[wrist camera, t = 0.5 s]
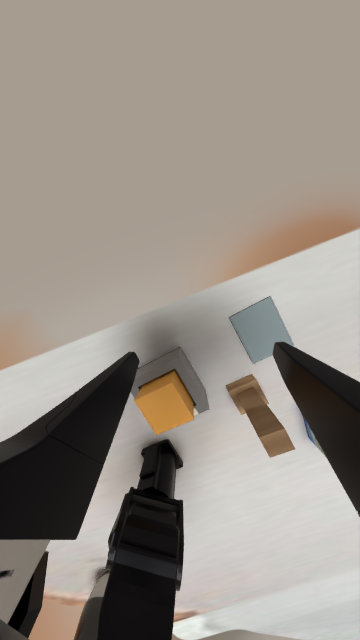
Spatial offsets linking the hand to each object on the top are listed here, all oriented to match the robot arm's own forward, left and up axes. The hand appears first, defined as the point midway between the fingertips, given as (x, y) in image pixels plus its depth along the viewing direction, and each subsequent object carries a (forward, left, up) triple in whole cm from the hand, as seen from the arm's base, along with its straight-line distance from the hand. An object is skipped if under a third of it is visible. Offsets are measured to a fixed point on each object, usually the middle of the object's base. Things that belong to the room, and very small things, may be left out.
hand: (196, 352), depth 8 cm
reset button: (-8, +9, -10) cm, 16 cm away
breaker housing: (-8, +9, -14) cm, 18 cm away
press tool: (-16, -2, -14) cm, 21 cm away
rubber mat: (-7, -9, -14) cm, 18 cm away
